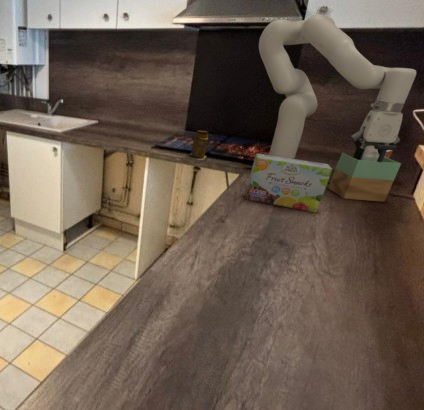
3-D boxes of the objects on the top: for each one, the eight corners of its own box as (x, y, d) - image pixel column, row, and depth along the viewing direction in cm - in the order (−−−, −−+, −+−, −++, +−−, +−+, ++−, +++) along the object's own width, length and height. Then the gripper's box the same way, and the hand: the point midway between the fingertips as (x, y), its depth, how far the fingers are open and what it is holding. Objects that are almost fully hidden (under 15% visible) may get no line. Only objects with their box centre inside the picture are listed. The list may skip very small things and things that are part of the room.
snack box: (245, 200, 120) (256, 156, 113) (244, 194, 124) (255, 152, 118) (317, 213, 113) (333, 167, 107) (313, 206, 118) (329, 163, 111)
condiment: (206, 156, 166) (211, 131, 162) (202, 160, 160) (208, 134, 155) (190, 153, 170) (195, 128, 165) (186, 157, 163) (191, 131, 158)
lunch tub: (335, 168, 132) (346, 136, 127) (374, 171, 131) (387, 139, 127) (352, 177, 122) (366, 144, 118) (395, 180, 122) (410, 147, 117)
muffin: (353, 160, 131) (360, 142, 128) (373, 163, 128) (381, 144, 125) (356, 165, 125) (364, 145, 123) (377, 168, 123) (385, 148, 120)
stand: (328, 188, 135) (335, 168, 132) (366, 191, 135) (374, 171, 131) (343, 198, 126) (351, 177, 123) (384, 201, 126) (393, 180, 122)
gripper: (368, 107, 116) (348, 160, 123) (423, 111, 115) (400, 164, 122) (353, 104, 123) (335, 154, 130) (406, 107, 122) (384, 158, 129)
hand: (367, 159), depth 126 cm, fingers closed on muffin, 6 cm apart
